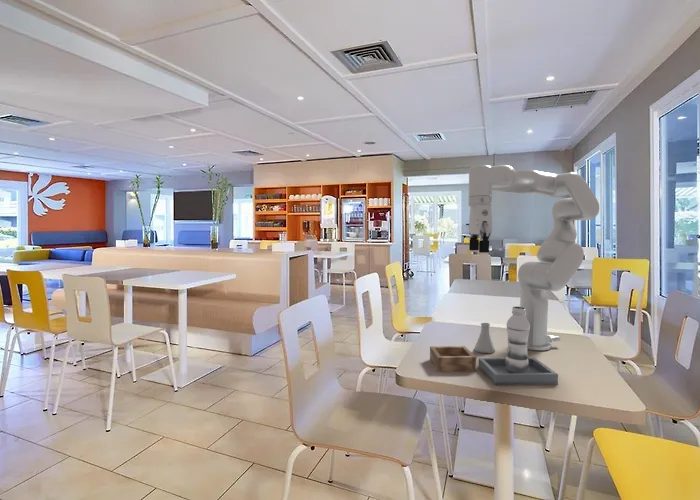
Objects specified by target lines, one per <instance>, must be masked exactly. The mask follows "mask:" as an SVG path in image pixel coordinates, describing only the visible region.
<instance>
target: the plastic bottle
mask: <svg viewBox="0 0 700 500" xmlns="http://www.w3.org/2000/svg"><path fill="white" fill-rule="evenodd" d="M511 314H512V315H511V316H510V317H509V318H508V320H507V322H506V333H507V334H506V335H507V350H506V351H507V352H506V357H505V358H506V359H505V366H506V369H507V370H508V371H509V372H511V373H526V372H527V371H528V368H529V362H528V349H527V343H528V336H529V331H530V324H529V322H528V320H527V319H526V317H525V315H526V308H524V307H520V306H513V307H512V308H511Z"/></svg>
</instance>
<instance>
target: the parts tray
mask: <svg viewBox="0 0 700 500" xmlns="http://www.w3.org/2000/svg"><path fill="white" fill-rule="evenodd" d="M505 359H506V357H478V363H477V364H478V366H477V367H478V369H480V371H481V372H483V374H484V375H485V376H486V377H487V378H488V379H489V380H490V381H491V382H492V383H493V385H495V386H538V385H539V386H540V385H543V386H544V385H545V386H547V385H551V386H552V385H558V384H559V383H558V382H559V374H558V373H557V372H555V371H554V370H552V369H551V368H550V367H549V366H547V365H546V364H544V363H543V362H541V361H539V359H537V358H535V357H528V362H529V368H528V371H527V372H526V373H511V372H509V371H508V370H507V369H506V366H505Z"/></svg>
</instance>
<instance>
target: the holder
mask: <svg viewBox="0 0 700 500" xmlns="http://www.w3.org/2000/svg"><path fill="white" fill-rule="evenodd" d="M429 360H430V362H431V364H432V365H433V367H434V368H435V370H436V372H437V373H438V372H439V373H442V372H443V373H444V372H447V373H449V372H450V373H451V372H453V373H455V372H476V370H477V357H476V355H474V354H473V352H471V351H470V349H468V348H467V347H466V346H465V345H458V346H456V345H454V346H450V345H449V346H444V345H443V346H441V345H440V346H439V345H438V346H429Z"/></svg>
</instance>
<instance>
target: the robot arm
mask: <svg viewBox="0 0 700 500" xmlns="http://www.w3.org/2000/svg"><path fill="white" fill-rule="evenodd" d="M493 191H495V192H502V193H503V192H505V193H514V194H528V195H533V196H541V197H549V198H561V199H558V200H556V201H555V202H554V203H553V205H552V208H551V212H552V219H553V229H552V230H551V232H550V233H549V235H547V238H546V239H545V240H544V241H543V243H542V244H541V245H540V247H539V249H538V250H537V252H536V258H537V260H538V261H527V262H524V263H522V264H521V266H519V268H518V271H517V279H518V285H519V307H524V308H526V315H525V317H526V319H527V320H528V322H529V324H530V331H529V336H528V343H527V350H530V351H548V350H550V349H551V348H552V342H560V341H561V337H560V335H559V336H558V335H555V336H554V335H551V334H548V322H549V321H548V317H549V313H548V312H549V297H548V294H547V291H550V292H558V291H561V290H563V289H564V288H565V287H566V286H567V285H568V283H569V282H570V281H571V279H572V278H573V276H574V275H575V274H576V272H577V271H578V269H579V268H580V267H581V265H582V263H583V261H584V257H585V253H584V249H583V247H582V245H581V244H580V243H578V242H575V240H576V239H577V235H578V234H577V230H576V227H575V224H574V221H589V220H590V221H591V220H593V219H595V218H596V217H597V216H598V214H599V213H600V203H599V201H598V198H597V197H596V195H595V194H594V192H593V191H592V189H591V187H590V186H589V185H588V183H587V182H586V180H585V179H584V178H583V176H581V174H579V173H577V172H575V171H574V172H573V171H570V172H563V173H552V172H544V171H539V170H534V169H532V170H531V169H528V170H527V169H525V170H524V169H523V170H518V171H516V170H515V169H514V168H513V167H512V166H510V165H507V164H501V165H488V164H476V165H473V166H471V167H470V168H469V171H468V207H470V208H469V221H468V229H469V233H468V234H469V237H468V239H469V249H468V250H469V251H478V252H479V253H482V254H484V253H485V254H486V253H490V239H491V237H490V236H491V235H492V232H493V221H492V217H493V216H492V194H493V193H492V192H493ZM479 239H480V240H479Z"/></svg>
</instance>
